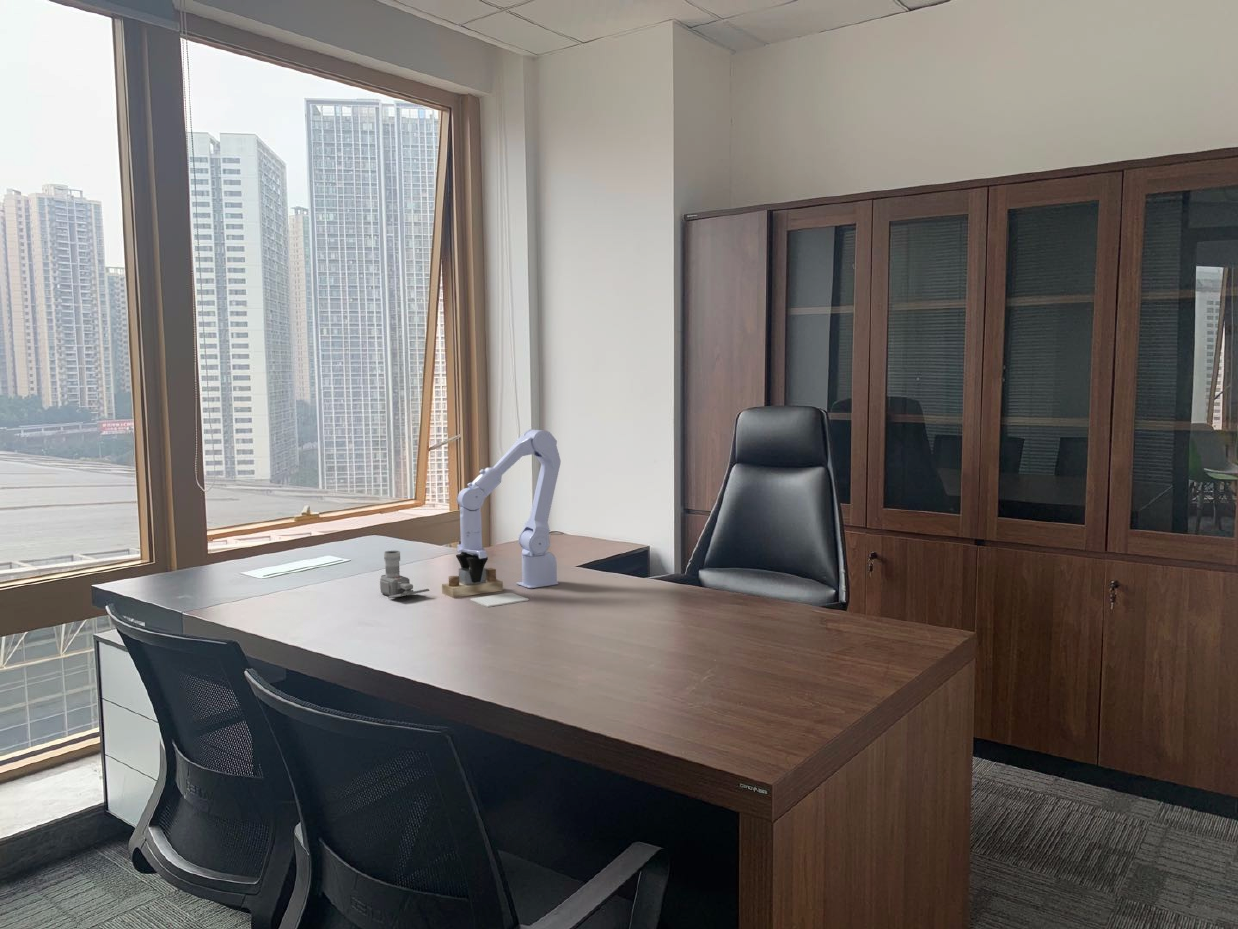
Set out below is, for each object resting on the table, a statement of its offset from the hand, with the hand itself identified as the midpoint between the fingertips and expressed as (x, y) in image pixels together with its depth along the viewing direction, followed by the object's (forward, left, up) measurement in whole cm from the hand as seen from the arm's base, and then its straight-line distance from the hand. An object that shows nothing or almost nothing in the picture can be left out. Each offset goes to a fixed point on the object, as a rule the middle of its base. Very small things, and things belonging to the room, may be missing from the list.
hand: (472, 580), depth 257 cm
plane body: (0, 0, -3) cm, 3 cm away
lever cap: (0, 0, -1) cm, 1 cm away
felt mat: (-1, +14, -3) cm, 14 cm away
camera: (+18, -7, -3) cm, 20 cm away
